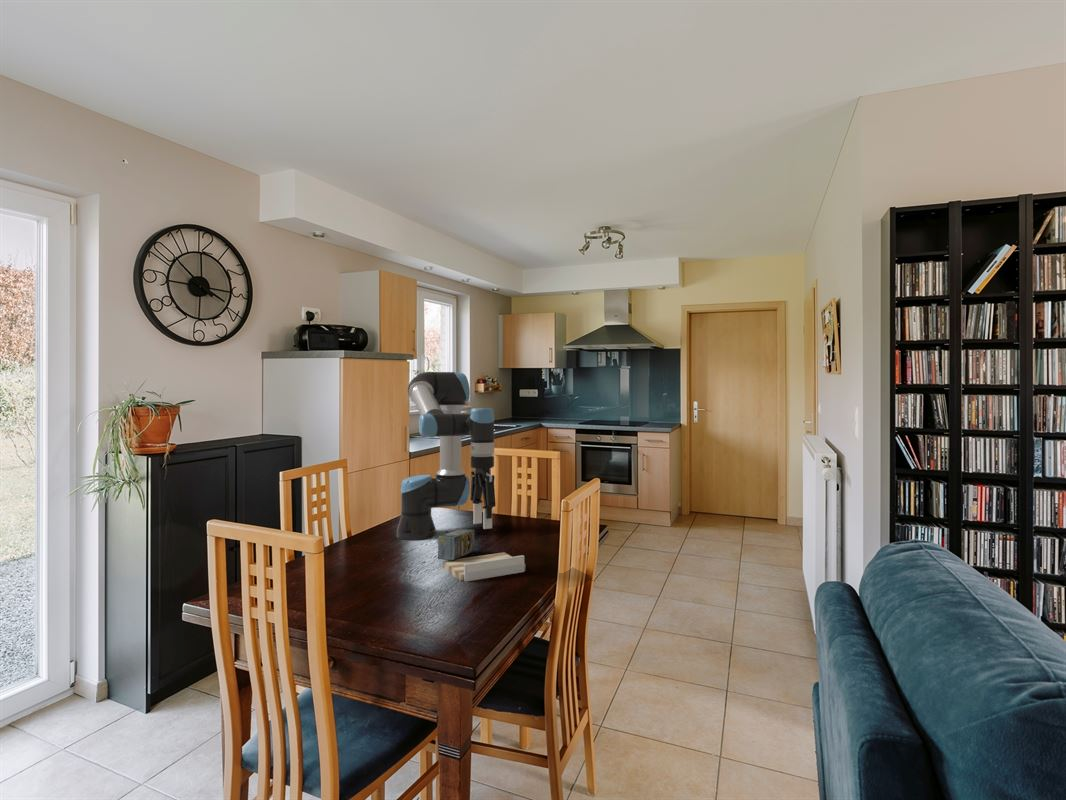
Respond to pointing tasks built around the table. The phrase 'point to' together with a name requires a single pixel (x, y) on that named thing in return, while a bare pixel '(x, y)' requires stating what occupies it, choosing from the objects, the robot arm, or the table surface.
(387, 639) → the table surface
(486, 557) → the shelf board
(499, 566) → the rail
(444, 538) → the beverage carton
